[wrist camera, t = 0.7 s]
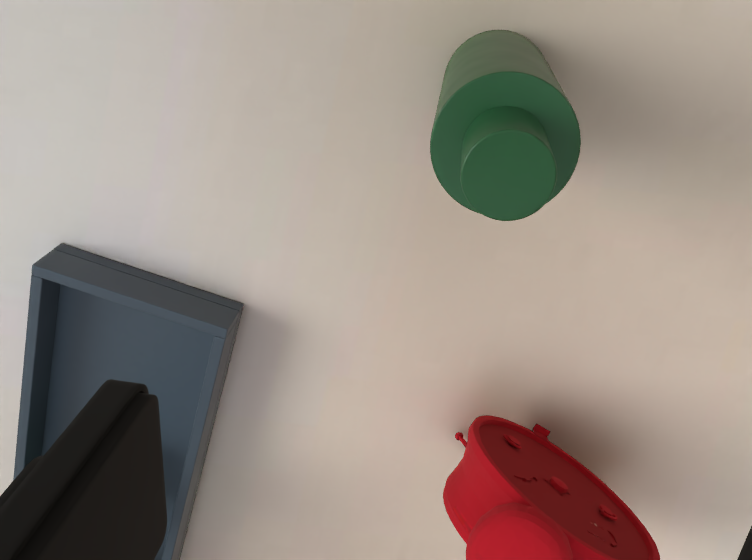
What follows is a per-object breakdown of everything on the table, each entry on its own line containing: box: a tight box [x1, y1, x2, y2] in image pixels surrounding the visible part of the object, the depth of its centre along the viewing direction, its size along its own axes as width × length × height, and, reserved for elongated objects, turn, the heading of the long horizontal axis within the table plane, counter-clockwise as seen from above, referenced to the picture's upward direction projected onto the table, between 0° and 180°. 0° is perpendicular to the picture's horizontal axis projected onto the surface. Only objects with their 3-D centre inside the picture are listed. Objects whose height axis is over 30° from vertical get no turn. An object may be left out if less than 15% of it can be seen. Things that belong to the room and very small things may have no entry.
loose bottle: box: [430, 30, 581, 221], centre depth 25 cm, size 5×5×14 cm
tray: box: [13, 244, 244, 560], centre depth 44 cm, size 34×10×3 cm, turn 163°
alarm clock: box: [443, 415, 660, 560], centre depth 33 cm, size 10×6×15 cm, turn 59°
